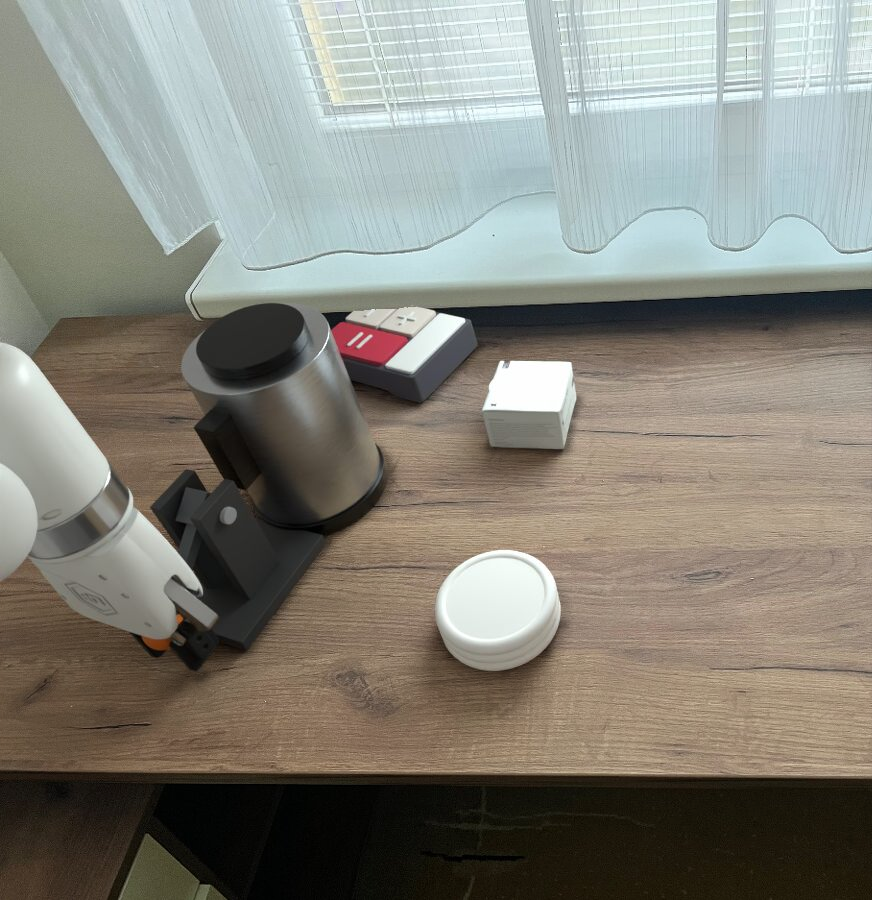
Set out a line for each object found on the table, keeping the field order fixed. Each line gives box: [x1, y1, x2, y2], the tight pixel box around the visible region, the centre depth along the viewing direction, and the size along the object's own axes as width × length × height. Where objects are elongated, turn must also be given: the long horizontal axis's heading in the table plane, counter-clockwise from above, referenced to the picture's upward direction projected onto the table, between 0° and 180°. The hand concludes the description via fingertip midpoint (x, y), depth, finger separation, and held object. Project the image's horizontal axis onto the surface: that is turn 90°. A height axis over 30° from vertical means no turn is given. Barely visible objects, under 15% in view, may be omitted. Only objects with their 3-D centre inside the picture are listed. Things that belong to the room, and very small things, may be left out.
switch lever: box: [142, 487, 212, 651], centre depth 71 cm, size 13×3×3 cm
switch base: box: [149, 468, 327, 651], centre depth 74 cm, size 12×9×12 cm
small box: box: [481, 360, 577, 450], centre depth 88 cm, size 8×8×5 cm
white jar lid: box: [434, 549, 562, 672], centre depth 71 cm, size 10×10×4 cm
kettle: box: [180, 302, 389, 536], centre depth 79 cm, size 15×13×19 cm
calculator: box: [331, 306, 479, 403], centre depth 98 cm, size 11×4×15 cm
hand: (185, 648), depth 73 cm, fingers closed on switch lever, 3 cm apart
